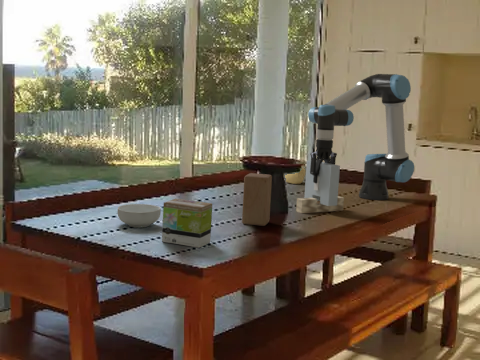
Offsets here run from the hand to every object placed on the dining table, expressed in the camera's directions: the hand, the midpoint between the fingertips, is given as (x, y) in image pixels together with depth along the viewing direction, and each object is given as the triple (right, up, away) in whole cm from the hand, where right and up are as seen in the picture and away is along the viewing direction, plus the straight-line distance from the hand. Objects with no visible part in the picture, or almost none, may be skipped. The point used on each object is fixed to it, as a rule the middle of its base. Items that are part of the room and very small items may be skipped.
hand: (321, 189), depth 335 cm
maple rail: (0, -10, +1) cm, 10 cm away
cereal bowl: (-77, -13, -49) cm, 92 cm away
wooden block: (-31, -14, -34) cm, 47 cm away
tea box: (-56, -18, -74) cm, 95 cm away
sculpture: (-6, +2, +84) cm, 84 cm away
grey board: (0, -6, +1) cm, 6 cm away
